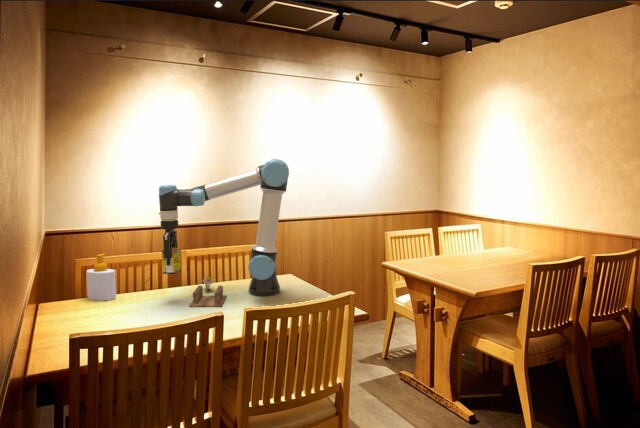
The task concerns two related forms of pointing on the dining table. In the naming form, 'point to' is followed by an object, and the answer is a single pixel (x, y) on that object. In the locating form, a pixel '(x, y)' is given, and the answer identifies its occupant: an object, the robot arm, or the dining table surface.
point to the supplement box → (175, 261)
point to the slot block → (208, 298)
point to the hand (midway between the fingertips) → (171, 270)
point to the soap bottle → (101, 281)
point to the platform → (207, 283)
